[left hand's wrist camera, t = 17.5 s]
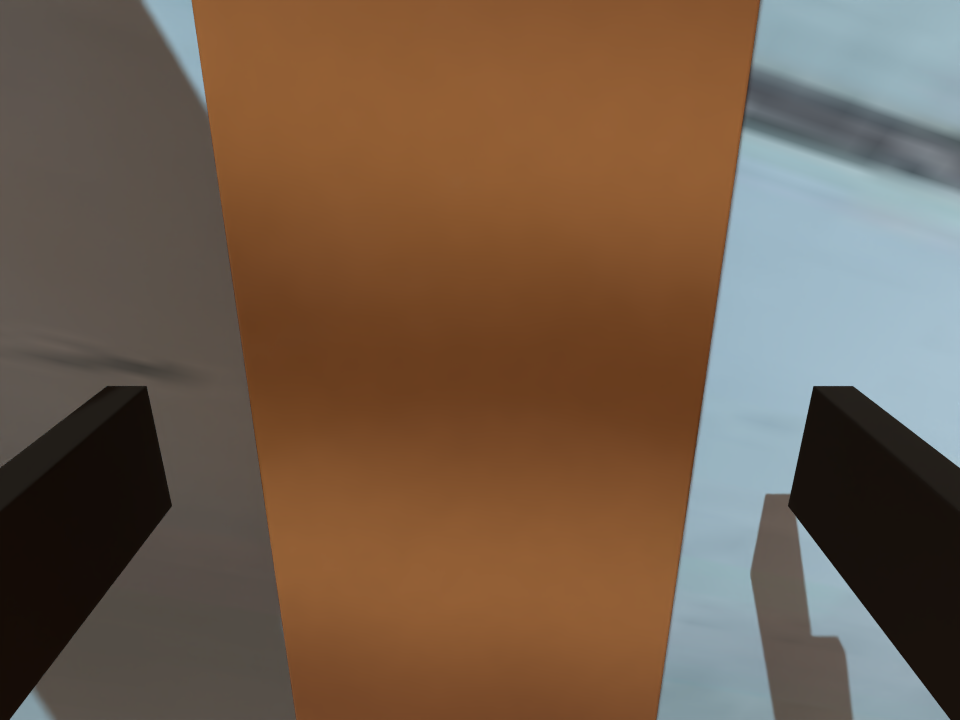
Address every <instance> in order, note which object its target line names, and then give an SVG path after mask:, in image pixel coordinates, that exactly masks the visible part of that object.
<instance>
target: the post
mask: <svg viewBox="0 0 960 720" xmlns="http://www.w3.org/2000/svg"><path fill="white" fill-rule="evenodd" d="M759 5H760V0H192V6H193V13H194V20H195V27H196V34H197V41H198V48H199V55H200V61H201V68H202V75H203V82H204V89H205V96H206V103H207V110H208V116H209V123H210V130H211V137H212V144H213V151H214V158H215V165H216V171H217V178H218V185H219V192H220V199H221V206H222V213H223V220H224V226H225V233H226V240H227V247H228V254H229V261H230V268H231V275H232V281H233V288H234V295H235V302H236V309H237V316H238V323H239V330H240V336H241V343H242V350H243V357H244V364H245V371H246V378H247V385H248V391H249V398H250V405H251V412H252V419H253V426H254V433H255V440H256V446H257V453H258V460H259V467H260V474H261V481H262V488H263V495H264V501H265V508H266V515H267V522H268V529H269V536H270V543H271V550H272V556H273V563H274V570H275V577H276V584H277V591H278V598H279V605H280V611H281V618H282V625H283V632H284V639H285V646H286V653H287V660H288V667H289V673H290V680H291V687H292V694H293V701H294V708H295V715H296V720H656V717H657V710H658V703H659V696H660V689H661V683H662V676H663V669H664V662H665V655H666V648H667V641H668V634H669V627H670V620H671V613H672V606H673V600H674V593H675V586H676V579H677V572H678V565H679V558H680V551H681V544H682V537H683V530H684V523H685V517H686V510H687V503H688V496H689V489H690V482H691V475H692V468H693V461H694V454H695V447H696V440H697V434H698V427H699V420H700V413H701V406H702V399H703V392H704V385H705V378H706V371H707V364H708V357H709V351H710V344H711V337H712V330H713V323H714V316H715V309H716V302H717V295H718V288H719V281H720V274H721V267H722V261H723V254H724V247H725V240H726V233H727V226H728V219H729V212H730V205H731V198H732V191H733V184H734V178H735V171H736V164H737V157H738V150H739V143H740V136H741V129H742V122H743V115H744V108H745V101H746V95H747V88H748V81H749V74H750V67H751V60H752V53H753V46H754V39H755V32H756V25H757V18H758V12H759Z"/></svg>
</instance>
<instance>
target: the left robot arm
mask: <svg viewBox="0 0 960 720" xmlns="http://www.w3.org/2000/svg"><path fill="white" fill-rule="evenodd" d="M171 506H172V504H171V499H170V495H169V490H168V485H167V480H166V476H165V471H164V466H163V462H162V457H161V452H160V447H159V443H158V438H157V433H156V429H155V424H154V419H153V415H152V410H151V405H150V400H149V396H148V391H147V386H107V387H105V388H104V389H103V390H101V391H100V392H99V393H98V394H96V395H95V396H94V397H92V398H91V399H90V400H88V401H87V402H86V403H84V404H83V405H82V406H81V407H79V408H78V409H77V410H75V411H74V412H73V413H71V414H70V415H69V416H67V417H66V418H65V419H64V420H62V421H61V422H60V423H58V424H57V425H56V426H54V427H53V428H52V429H51V430H49V431H48V432H47V433H45V434H44V435H43V436H41V437H40V438H39V439H37V440H36V441H35V442H34V443H32V444H31V445H30V446H28V447H27V448H26V449H24V450H23V451H22V452H21V453H19V454H18V455H17V456H15V457H14V458H13V459H11V460H10V461H9V462H7V463H6V464H5V465H4V466H2V467H1V468H0V720H10V718H11V717H12V716H13V714H14V713H15V712H16V710H17V709H18V708H19V707H20V705H21V704H22V703H23V701H24V700H25V699H26V697H27V696H28V695H29V693H30V692H31V691H32V689H33V688H34V687H35V685H36V684H37V683H38V682H39V680H40V679H41V678H42V676H43V675H44V674H45V672H46V671H47V670H48V668H49V667H50V666H51V664H52V663H53V662H54V660H55V659H56V658H57V657H58V655H59V654H60V653H61V651H62V650H63V649H64V647H65V646H66V645H67V643H68V642H69V641H70V639H71V638H72V637H73V635H74V634H75V633H76V632H77V630H78V629H79V628H80V626H81V625H82V624H83V622H84V621H85V620H86V618H87V617H88V616H89V614H90V613H91V612H92V610H93V609H94V608H95V606H96V605H97V604H98V603H99V601H100V600H101V599H102V597H103V596H104V595H105V593H106V592H107V591H108V589H109V588H110V587H111V585H112V584H113V583H114V581H115V580H116V579H117V578H118V576H119V575H120V574H121V572H122V571H123V570H124V568H125V567H126V566H127V564H128V563H129V562H130V560H131V559H132V558H133V556H134V555H135V554H136V553H137V551H138V550H139V549H140V547H141V546H142V545H143V543H144V542H145V541H146V539H147V538H148V537H149V535H150V534H151V533H152V531H153V530H154V529H155V528H156V526H157V525H158V524H159V522H160V521H161V520H162V518H163V517H164V516H165V514H166V513H167V512H168V510H169V509H170V508H171ZM788 506H789V508H790V509H791V510H792V512H793V513H794V514H795V516H796V517H797V518H798V520H799V521H800V522H801V524H802V525H803V526H804V528H805V529H806V530H807V531H808V533H809V534H810V535H811V537H812V538H813V539H814V541H815V542H816V543H817V545H818V546H819V547H820V549H821V550H822V551H823V553H824V554H825V555H826V556H827V558H828V559H829V560H830V562H831V563H832V564H833V566H834V567H835V568H836V570H837V571H838V572H839V574H840V575H841V576H842V578H843V579H844V580H845V581H846V583H847V584H848V585H849V587H850V588H851V589H852V591H853V592H854V593H855V595H856V596H857V597H858V599H859V600H860V601H861V603H862V604H863V605H864V607H865V608H866V609H867V610H868V612H869V613H870V614H871V616H872V617H873V618H874V620H875V621H876V622H877V624H878V625H879V626H880V628H881V629H882V630H883V632H884V633H885V634H886V635H887V637H888V638H889V639H890V641H891V642H892V643H893V645H894V646H895V647H896V649H897V650H898V651H899V653H900V654H901V655H902V657H903V658H904V659H905V660H906V662H907V663H908V664H909V666H910V667H911V668H912V670H913V671H914V672H915V674H916V675H917V676H918V678H919V679H920V680H921V682H922V683H923V684H924V686H925V687H926V688H927V689H928V691H929V692H930V693H931V695H932V696H933V697H934V699H935V700H936V701H937V703H938V704H939V705H940V707H941V708H942V709H943V711H944V712H945V713H946V714H947V716H948V717H949V718H950V720H960V468H959V467H958V466H956V465H955V464H954V463H952V462H951V461H950V460H949V459H947V458H946V457H945V456H943V455H942V454H941V453H939V452H938V451H937V450H936V449H934V448H933V447H932V446H930V445H929V444H928V443H926V442H925V441H924V440H922V439H921V438H920V437H919V436H917V435H916V434H915V433H913V432H912V431H911V430H909V429H908V428H907V427H906V426H904V425H903V424H902V423H900V422H899V421H898V420H896V419H895V418H894V417H892V416H891V415H890V414H889V413H887V412H886V411H885V410H883V409H882V408H881V407H879V406H878V405H877V404H876V403H874V402H873V401H872V400H870V399H869V398H868V397H866V396H865V395H864V394H862V393H861V392H860V391H859V390H857V389H856V388H855V387H853V386H813V391H812V396H811V400H810V405H809V410H808V414H807V419H806V424H805V429H804V433H803V438H802V443H801V447H800V452H799V457H798V462H797V466H796V471H795V476H794V480H793V485H792V490H791V495H790V499H789V504H788Z"/></svg>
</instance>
